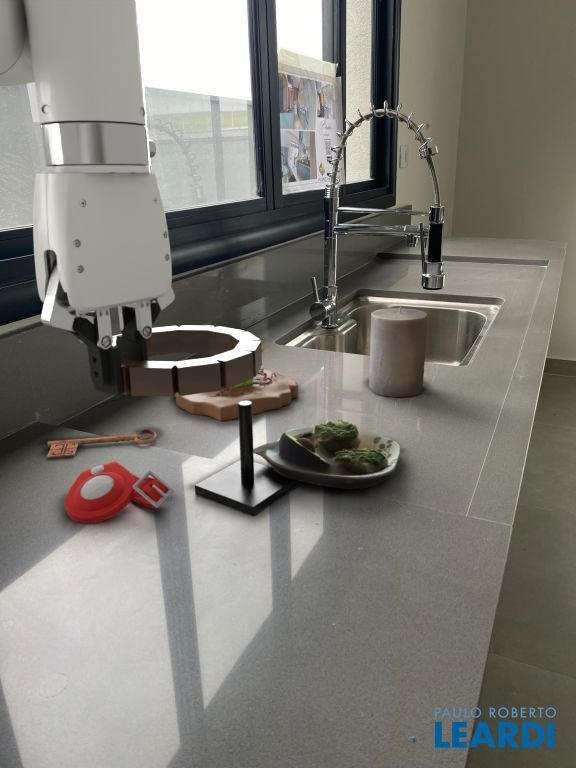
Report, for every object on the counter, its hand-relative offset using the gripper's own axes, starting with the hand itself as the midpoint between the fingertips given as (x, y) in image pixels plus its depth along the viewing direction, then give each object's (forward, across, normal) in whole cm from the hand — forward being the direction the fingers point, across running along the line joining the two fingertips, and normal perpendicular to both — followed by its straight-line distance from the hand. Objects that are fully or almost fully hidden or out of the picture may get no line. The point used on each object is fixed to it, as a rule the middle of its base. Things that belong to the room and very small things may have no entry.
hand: (121, 385), depth 51 cm
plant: (+19, -43, -27) cm, 54 cm away
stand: (+19, -19, -3) cm, 27 cm away
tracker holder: (+19, -7, -13) cm, 24 cm away
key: (+19, -17, -28) cm, 38 cm away
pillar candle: (+19, -63, -6) cm, 66 cm away
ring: (0, -6, 0) cm, 7 cm away
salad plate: (+19, -30, +2) cm, 35 cm away
